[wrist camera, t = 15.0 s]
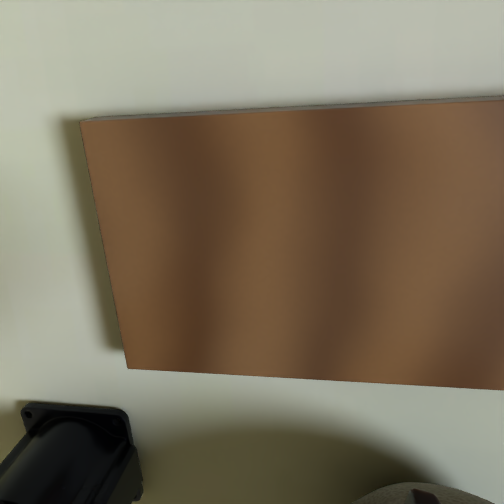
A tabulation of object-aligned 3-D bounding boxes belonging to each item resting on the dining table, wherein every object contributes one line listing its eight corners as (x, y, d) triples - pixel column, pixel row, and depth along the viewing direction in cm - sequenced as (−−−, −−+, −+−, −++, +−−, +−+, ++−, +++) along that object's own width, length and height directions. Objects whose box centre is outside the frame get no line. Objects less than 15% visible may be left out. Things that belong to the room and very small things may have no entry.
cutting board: (138, 352, 25) (126, 369, 24) (95, 116, 21) (78, 121, 19) (559, 373, 21) (574, 395, 20) (617, 89, 17) (641, 92, 16)
